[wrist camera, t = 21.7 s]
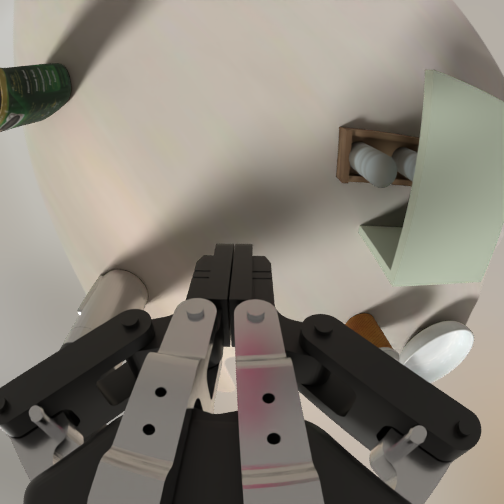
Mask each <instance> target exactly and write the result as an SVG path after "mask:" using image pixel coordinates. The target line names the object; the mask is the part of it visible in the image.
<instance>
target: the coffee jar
mask: <svg viewBox="0 0 504 504" xmlns="http://www.w3.org/2000/svg"><path fill="white" fill-rule="evenodd" d="M70 94H71V81H70V77H69V74H68V71H67V69H66V68H65V67H64V65H62V64H59V63H53V64H39V65H30V66H19V67H11V68H0V132H2V131H5V130H9V129H12V128H15V127H19V126H22V125H26V124H31V123H35V122H38V121H42V120H44V119H46V118H47V117H49V116H51V115H52V114H53V113H55V112H56V111H57V110H59V109H60V108H61V107H62V106H63V105H64V104H65V103H66V102H67V101H68V99H69V97H70Z"/></svg>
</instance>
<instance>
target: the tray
mask: <svg viewBox="0 0 504 504" xmlns="http://www.w3.org/2000/svg"><path fill="white" fill-rule="evenodd" d="M419 139H420V138H418V137H412V136H407V135H401V134H394V133H388V132H381V131H373V130H365V129H356V128H346V127H339V144H338V159H337V172H336V177H337V178H338V179H339V180H340V181H341V182H342V183H348V182H365V183H371V184H372V185H373V186H375V187H378V188H384V187H387V186H389V185H390V184H392V185H404V186H412V183H413V178H414V172H415V166H416V160H417V154H418V147H419Z"/></svg>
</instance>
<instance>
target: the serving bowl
mask: <svg viewBox="0 0 504 504" xmlns="http://www.w3.org/2000/svg"><path fill="white" fill-rule="evenodd" d="M473 342H474V335H473V333H472V332H471V330H470V329H469V328H468V327H467V326H465V325H464V324H462V323H460V322H457V321H443V322H439V323H436V324H434V325H431V326H429V327H428V328H426V329H424V330H422V331H421V332H420V333H418V334H417V335H416V336H414V337H413V338H412V339H411V340H410V341H409V342H408V343H407V344H406V346H405V347H404V348H403V350H402V351H401V353H400V355H399V357H400V359H399V362H400V363H401V364H403V365H404V366H406V367H407V368H409V369H410V370H412V371H413V372H414V373H416V374H417V375H419V376H420V377H422V378H423V379H425V380H426V381H428V382H429V383H432V382H434V381H436V380H438V379H440V378H441V377H443V376H445V375H446V374H448V373H449V372H451V371H452V370H453V369H454V368H456V367H457V366H458V365H459V364H460V363H461V362H462V361H463V360H464V358H465V357H466V356H467V355H468V353H469V351H470V350H471V348H472V345H473Z"/></svg>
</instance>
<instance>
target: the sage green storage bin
mask: <svg viewBox="0 0 504 504" xmlns="http://www.w3.org/2000/svg"><path fill="white" fill-rule="evenodd" d="M503 223H504V102H503V101H501V100H500V99H498V98H496V97H494V96H492V95H490V94H488V93H486V92H484V91H482V90H480V89H478V88H476V87H474V86H472V85H470V84H467V83H465V82H463V81H460V80H458V79H456V78H453V77H451V76H448V75H446V74H443V73H441V72H438V71H435V70H425V83H424V100H423V112H422V122H421V131H420V139H419V147H418V154H417V160H416V166H415V172H414V178H413V183H412V188H411V193H410V198H409V202H408V207H407V211H406V216H405V220H404V224H403V228H402V227H383V226H361V225H360V227H359V234H360V236H361V237H362V239H363V240H364V242H365V243H366V245H367V246H368V248H369V249H370V251H371V252H372V254H373V256H374V257H375V259H376V260H377V262H378V264H379V265H380V267H381V268H382V270H383V272H384V273H385V275H386V277H387V278H388V280H389V282H390V283H391V285H392V287H395V286H419V285H439V284H456V283H471V282H481V280H482V278H483V276H484V273H485V271H486V269H487V266H488V264H489V261H490V259H491V257H492V254H493V251H494V249H495V246H496V243H497V241H498V238H499V235H500V232H501V229H502V226H503Z"/></svg>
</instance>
